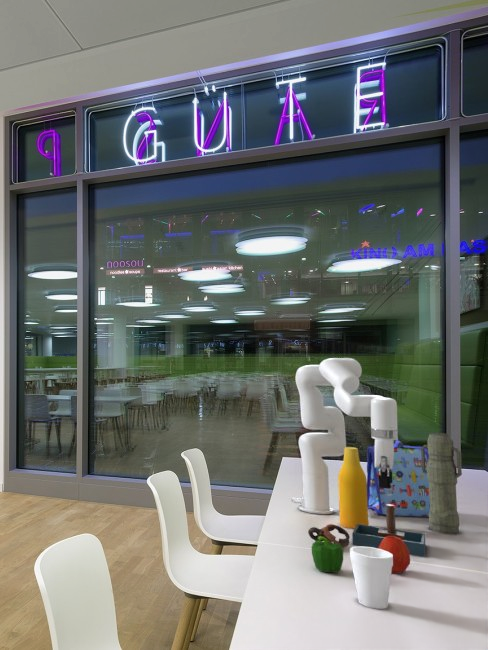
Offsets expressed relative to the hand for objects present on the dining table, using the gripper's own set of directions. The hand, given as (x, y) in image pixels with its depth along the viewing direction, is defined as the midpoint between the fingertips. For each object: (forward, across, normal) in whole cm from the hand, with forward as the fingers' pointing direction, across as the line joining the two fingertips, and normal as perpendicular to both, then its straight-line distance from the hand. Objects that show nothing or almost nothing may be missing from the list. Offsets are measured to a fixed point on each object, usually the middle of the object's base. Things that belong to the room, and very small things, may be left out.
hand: (385, 485), depth 203 cm
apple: (+20, +29, +4) cm, 35 cm away
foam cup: (+19, +60, 0) cm, 63 cm away
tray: (+20, +1, 0) cm, 20 cm away
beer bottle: (+21, -18, -12) cm, 30 cm away
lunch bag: (+21, -52, +2) cm, 56 cm away
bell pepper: (+20, +40, -12) cm, 46 cm away
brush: (+19, +1, +1) cm, 19 cm away
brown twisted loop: (+20, +15, -16) cm, 29 cm away
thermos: (+20, -32, +16) cm, 41 cm away
